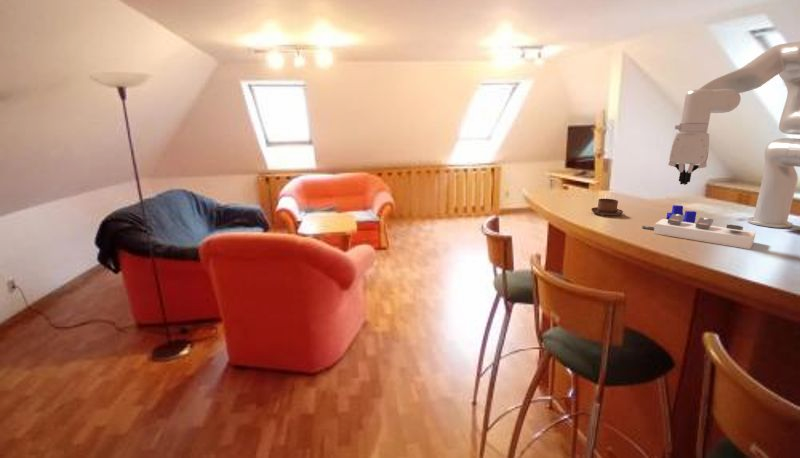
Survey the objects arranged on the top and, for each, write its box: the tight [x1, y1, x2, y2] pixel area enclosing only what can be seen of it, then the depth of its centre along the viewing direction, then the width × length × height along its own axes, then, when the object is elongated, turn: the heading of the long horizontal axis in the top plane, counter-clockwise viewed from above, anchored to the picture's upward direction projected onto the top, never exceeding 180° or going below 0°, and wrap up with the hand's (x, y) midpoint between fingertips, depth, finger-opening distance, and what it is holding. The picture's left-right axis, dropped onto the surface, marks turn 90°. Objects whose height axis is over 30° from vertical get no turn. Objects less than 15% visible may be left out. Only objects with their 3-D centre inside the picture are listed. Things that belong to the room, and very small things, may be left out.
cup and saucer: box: [590, 198, 624, 217], centre depth 170 cm, size 12×12×6 cm
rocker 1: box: [695, 217, 714, 229], centre depth 135 cm, size 6×4×1 cm, turn 134°
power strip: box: [641, 218, 757, 250], centre depth 138 cm, size 10×31×4 cm, turn 45°
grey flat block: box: [668, 214, 685, 225], centre depth 141 cm, size 6×4×1 cm, turn 134°
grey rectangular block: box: [725, 224, 744, 230], centre depth 130 cm, size 6×4×1 cm, turn 136°
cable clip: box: [665, 204, 697, 223], centre depth 154 cm, size 12×4×6 cm, turn 169°
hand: (683, 183), depth 139 cm, fingers closed
